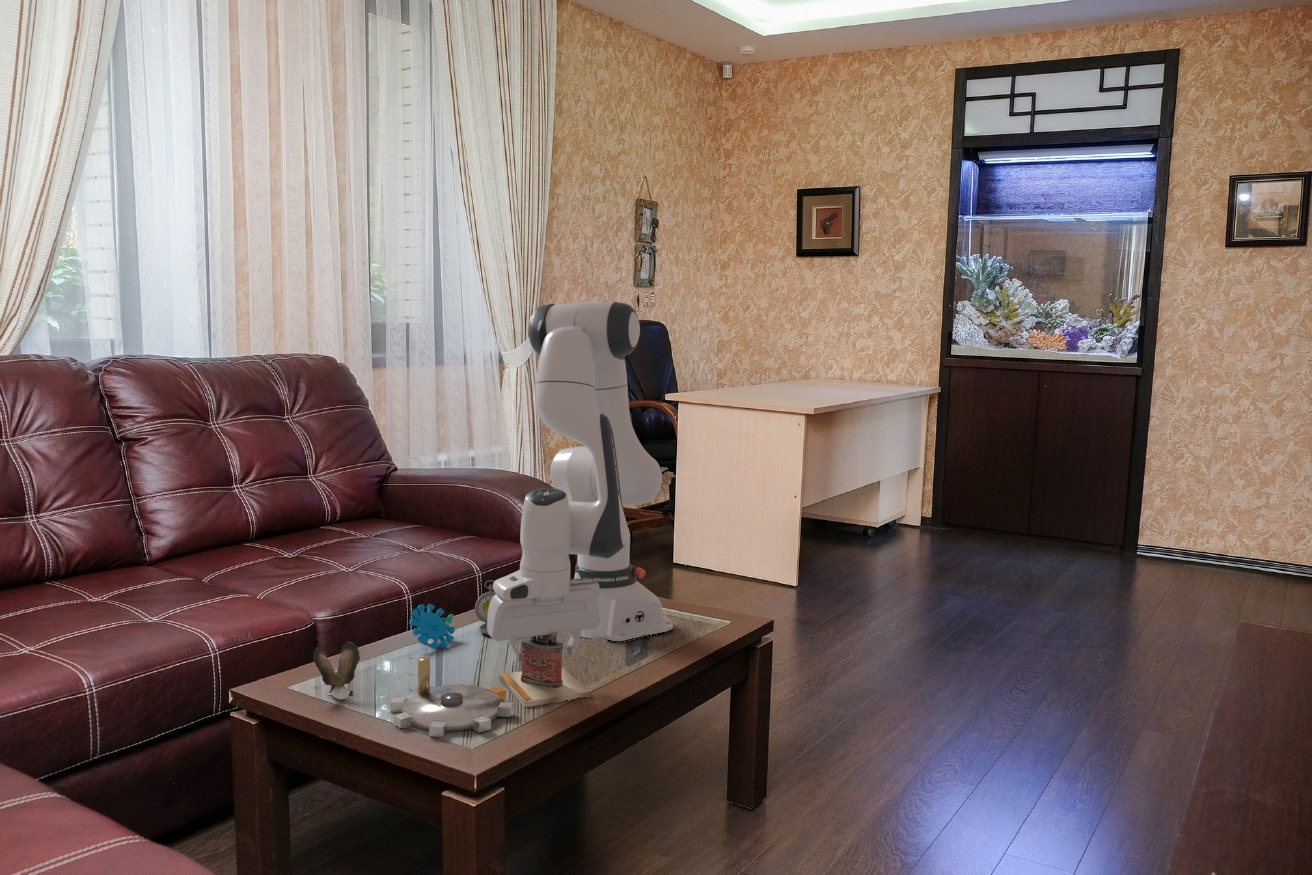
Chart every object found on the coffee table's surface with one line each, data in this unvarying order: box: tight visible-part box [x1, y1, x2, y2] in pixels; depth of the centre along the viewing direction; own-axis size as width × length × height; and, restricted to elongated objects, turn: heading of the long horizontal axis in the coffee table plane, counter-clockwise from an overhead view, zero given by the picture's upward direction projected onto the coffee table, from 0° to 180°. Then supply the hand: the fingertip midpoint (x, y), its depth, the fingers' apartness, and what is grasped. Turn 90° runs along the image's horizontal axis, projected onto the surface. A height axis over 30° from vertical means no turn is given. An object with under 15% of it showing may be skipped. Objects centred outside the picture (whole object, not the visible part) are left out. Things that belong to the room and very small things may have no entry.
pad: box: [498, 666, 591, 708], centre depth 180 cm, size 12×14×1 cm
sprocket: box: [389, 656, 514, 738], centre depth 168 cm, size 20×20×8 cm
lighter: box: [520, 632, 564, 688], centre depth 180 cm, size 8×3×10 cm, turn 67°
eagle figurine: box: [313, 640, 361, 701], centre depth 173 cm, size 8×7×9 cm
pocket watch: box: [474, 579, 496, 635], centre depth 212 cm, size 8×8×10 cm
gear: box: [408, 603, 456, 650], centre depth 203 cm, size 11×6×10 cm
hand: (544, 657), depth 180 cm, fingers open, 8 cm apart
